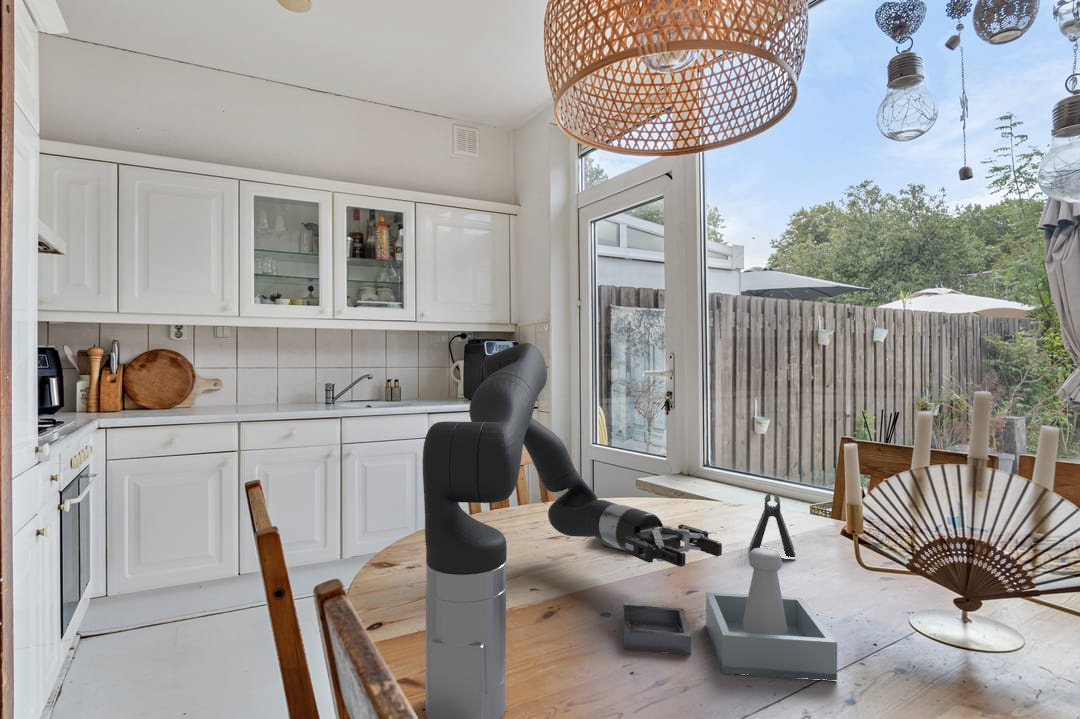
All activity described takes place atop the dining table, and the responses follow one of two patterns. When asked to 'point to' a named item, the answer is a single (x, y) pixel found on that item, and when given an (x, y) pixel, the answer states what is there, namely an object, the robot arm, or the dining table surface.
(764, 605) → the salt shaker
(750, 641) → the bin
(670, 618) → the dark grey square tray
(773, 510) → the black a-shaped piece
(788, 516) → the dining table surface
